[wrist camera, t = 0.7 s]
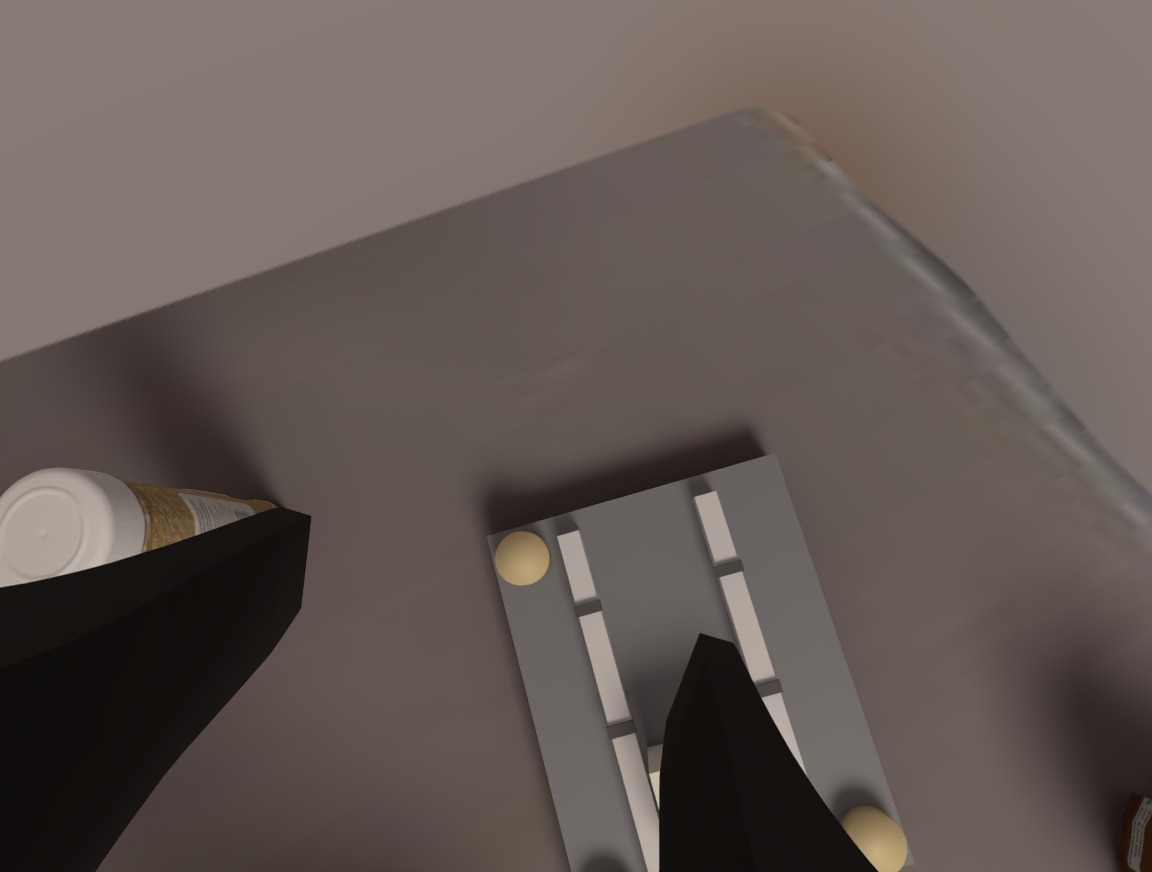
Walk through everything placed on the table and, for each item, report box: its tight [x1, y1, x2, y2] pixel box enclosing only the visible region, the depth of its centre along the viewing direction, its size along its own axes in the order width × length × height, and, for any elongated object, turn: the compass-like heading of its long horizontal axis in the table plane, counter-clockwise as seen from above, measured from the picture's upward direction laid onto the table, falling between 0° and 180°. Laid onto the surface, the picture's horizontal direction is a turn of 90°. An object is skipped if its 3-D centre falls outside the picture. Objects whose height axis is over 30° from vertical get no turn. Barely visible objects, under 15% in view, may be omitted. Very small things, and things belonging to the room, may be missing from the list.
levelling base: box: [487, 453, 915, 872], centre depth 32 cm, size 18×14×3 cm
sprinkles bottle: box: [0, 467, 277, 587], centre depth 30 cm, size 5×5×13 cm
